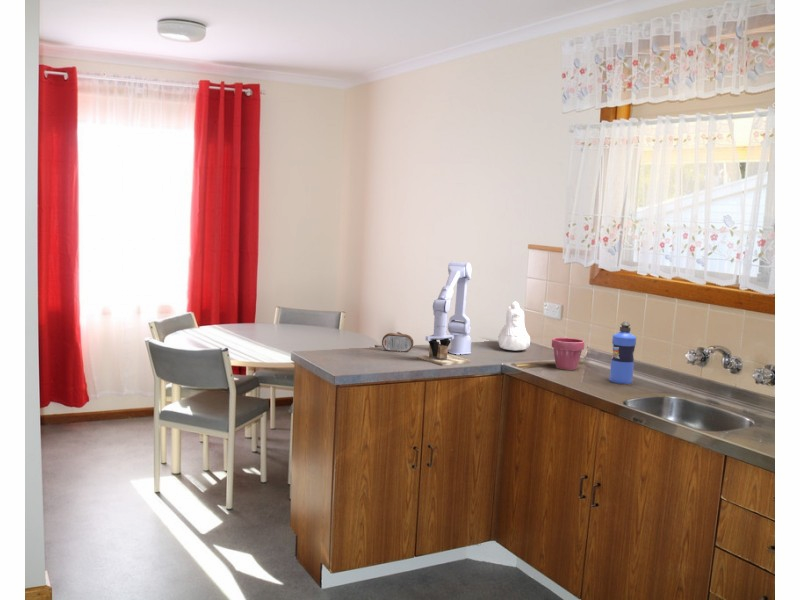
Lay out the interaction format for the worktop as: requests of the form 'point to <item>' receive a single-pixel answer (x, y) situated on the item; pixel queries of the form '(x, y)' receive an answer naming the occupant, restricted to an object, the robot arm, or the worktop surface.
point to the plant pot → (567, 352)
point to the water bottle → (623, 356)
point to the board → (450, 360)
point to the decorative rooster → (514, 330)
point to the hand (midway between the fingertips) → (438, 355)
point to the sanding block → (439, 352)
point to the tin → (397, 342)
